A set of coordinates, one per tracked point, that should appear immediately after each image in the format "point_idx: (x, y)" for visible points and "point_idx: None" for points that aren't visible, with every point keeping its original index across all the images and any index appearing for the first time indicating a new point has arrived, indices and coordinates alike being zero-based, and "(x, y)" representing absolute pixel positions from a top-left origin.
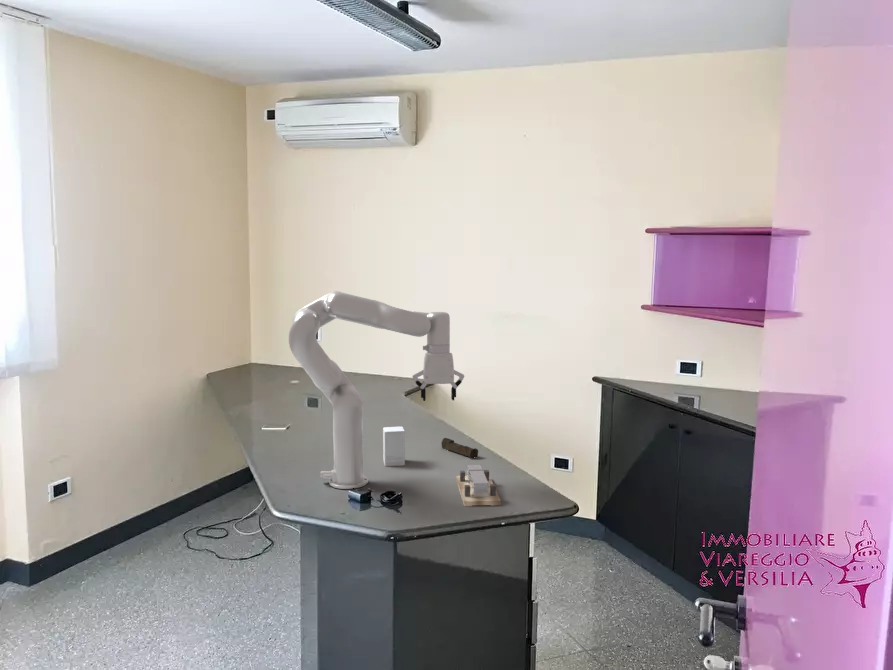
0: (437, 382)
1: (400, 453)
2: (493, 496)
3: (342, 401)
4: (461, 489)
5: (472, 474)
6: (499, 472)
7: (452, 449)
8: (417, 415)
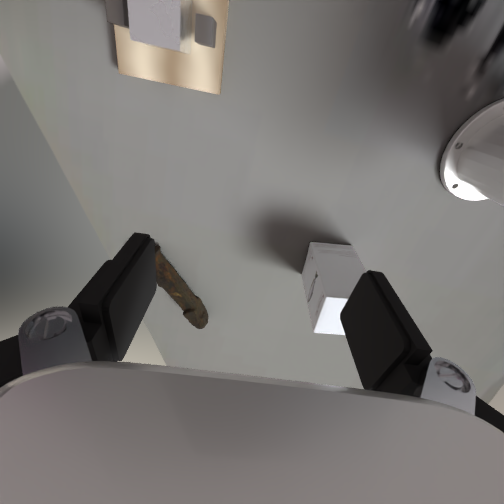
0: (313, 399)
1: (325, 258)
2: None
3: None
4: None
5: None
6: (93, 131)
7: (191, 293)
8: None
